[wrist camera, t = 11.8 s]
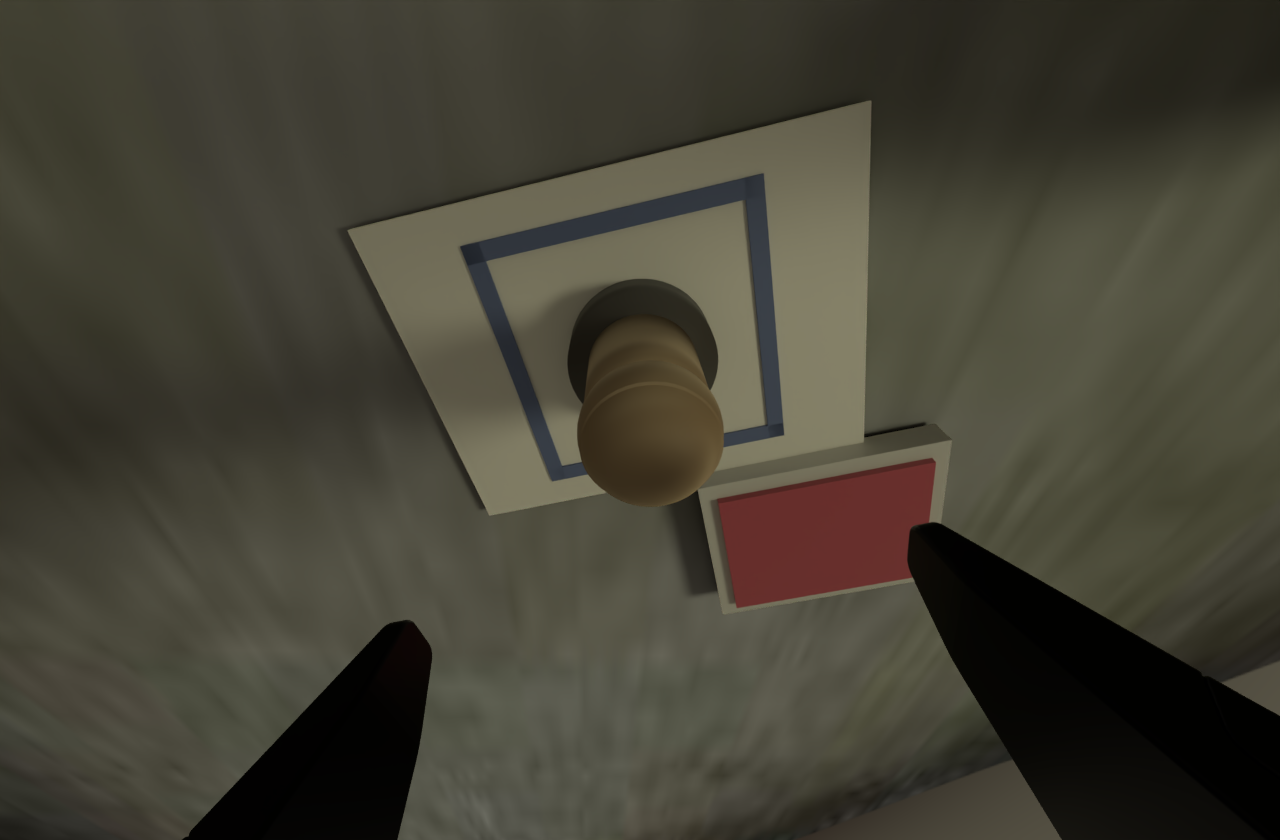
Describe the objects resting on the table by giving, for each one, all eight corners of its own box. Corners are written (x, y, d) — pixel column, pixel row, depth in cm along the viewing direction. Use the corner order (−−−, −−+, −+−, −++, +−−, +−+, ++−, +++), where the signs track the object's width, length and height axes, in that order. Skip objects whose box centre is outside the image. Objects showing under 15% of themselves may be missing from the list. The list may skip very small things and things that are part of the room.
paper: (867, 100, 14) (873, 100, 14) (860, 438, 21) (864, 443, 20) (351, 228, 16) (345, 231, 15) (491, 511, 22) (489, 517, 21)
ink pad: (935, 423, 20) (956, 444, 19) (920, 558, 24) (937, 583, 23) (693, 471, 21) (698, 493, 20) (718, 594, 25) (724, 620, 24)
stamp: (719, 394, 19) (772, 535, 12) (591, 421, 19) (579, 571, 13) (699, 263, 16) (753, 356, 10) (552, 296, 17) (512, 407, 10)
